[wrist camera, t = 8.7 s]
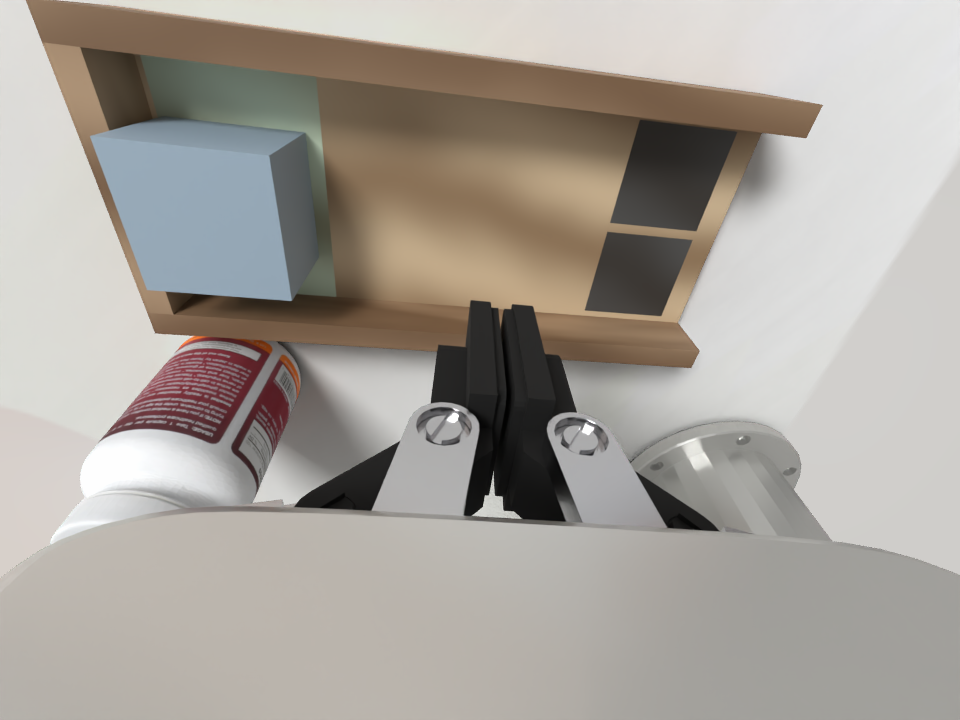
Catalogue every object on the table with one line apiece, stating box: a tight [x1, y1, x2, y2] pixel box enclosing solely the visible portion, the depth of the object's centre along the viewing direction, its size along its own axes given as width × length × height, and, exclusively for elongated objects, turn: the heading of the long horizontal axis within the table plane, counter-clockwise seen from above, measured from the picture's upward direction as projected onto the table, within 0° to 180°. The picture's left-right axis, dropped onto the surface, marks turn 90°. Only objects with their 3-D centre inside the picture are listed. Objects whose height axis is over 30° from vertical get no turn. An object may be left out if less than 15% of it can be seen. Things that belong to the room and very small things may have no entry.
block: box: [90, 116, 319, 301], centre depth 16 cm, size 5×5×4 cm
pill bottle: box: [50, 336, 301, 545], centre depth 20 cm, size 6×6×11 cm
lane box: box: [26, 0, 823, 368], centre depth 18 cm, size 11×24×4 cm, turn 84°
